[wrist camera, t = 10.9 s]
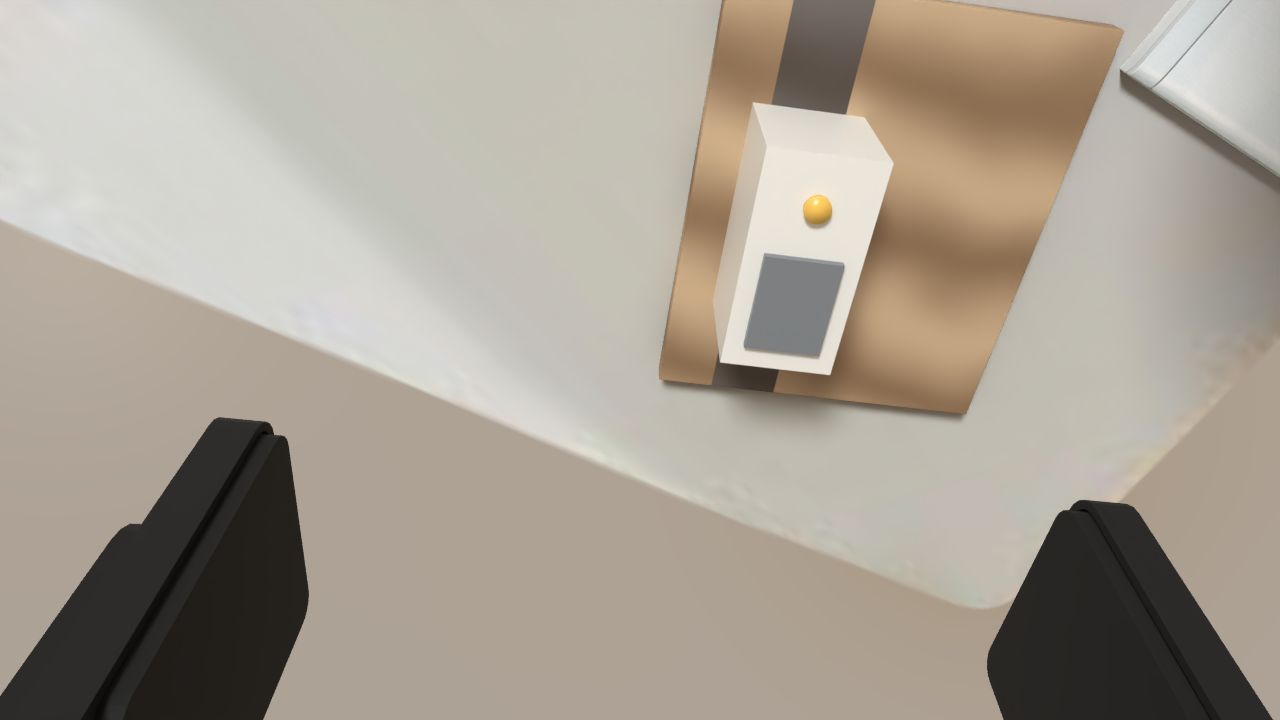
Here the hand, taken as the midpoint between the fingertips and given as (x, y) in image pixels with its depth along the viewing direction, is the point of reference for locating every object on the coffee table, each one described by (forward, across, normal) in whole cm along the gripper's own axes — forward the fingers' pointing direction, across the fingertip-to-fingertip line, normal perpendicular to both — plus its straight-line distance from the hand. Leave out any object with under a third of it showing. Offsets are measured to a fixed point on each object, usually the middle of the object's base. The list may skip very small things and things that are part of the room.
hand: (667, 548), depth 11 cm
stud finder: (+27, -6, +7) cm, 28 cm away
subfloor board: (+28, -10, +7) cm, 30 cm away
